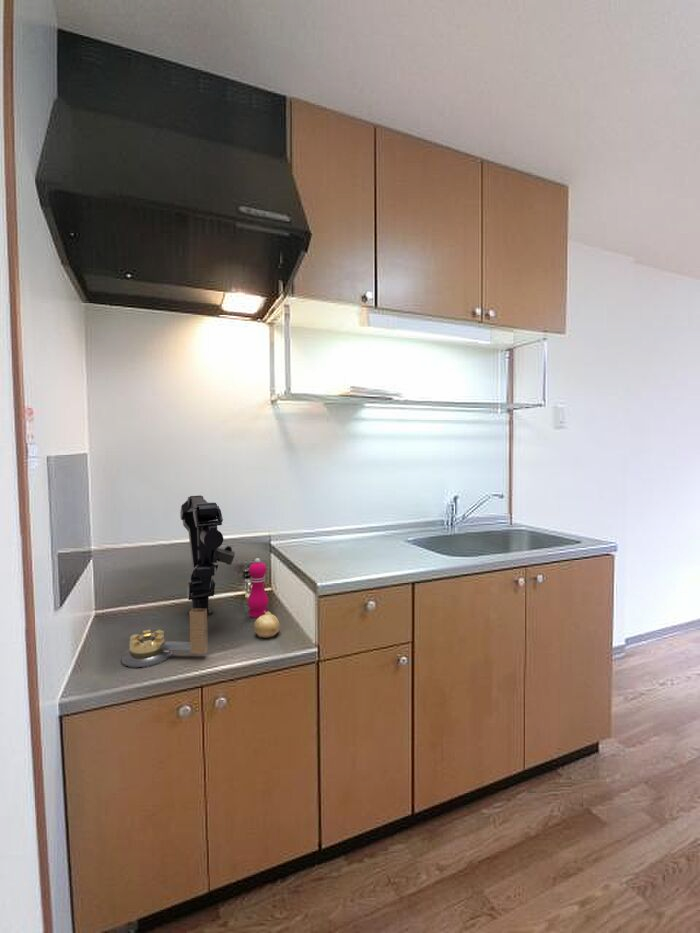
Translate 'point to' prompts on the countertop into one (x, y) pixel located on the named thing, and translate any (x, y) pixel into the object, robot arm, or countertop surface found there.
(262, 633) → the onion
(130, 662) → the flange
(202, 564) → the robot arm
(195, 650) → the crank handle
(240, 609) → the countertop surface
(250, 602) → the pepper mill
